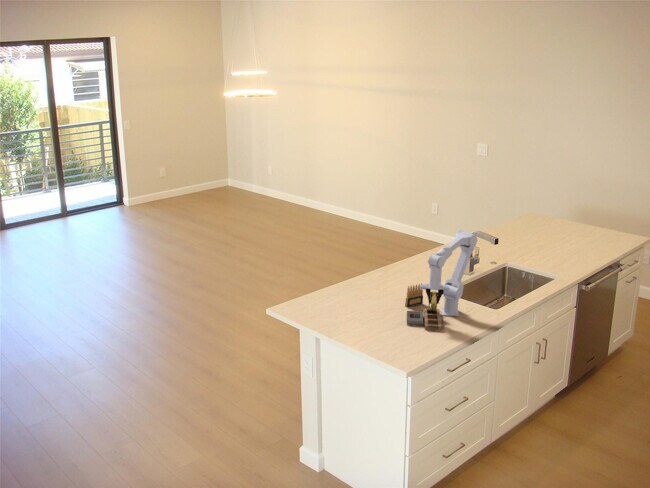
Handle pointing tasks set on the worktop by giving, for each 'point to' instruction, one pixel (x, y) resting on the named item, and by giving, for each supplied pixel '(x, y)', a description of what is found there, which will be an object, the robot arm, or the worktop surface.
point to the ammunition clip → (414, 296)
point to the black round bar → (431, 310)
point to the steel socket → (414, 318)
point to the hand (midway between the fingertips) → (433, 302)
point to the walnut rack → (432, 320)
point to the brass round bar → (433, 300)
